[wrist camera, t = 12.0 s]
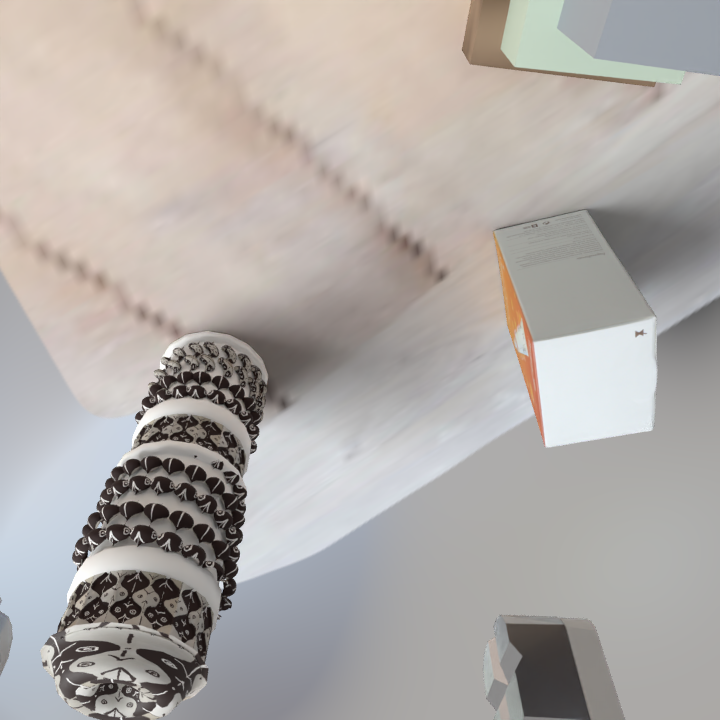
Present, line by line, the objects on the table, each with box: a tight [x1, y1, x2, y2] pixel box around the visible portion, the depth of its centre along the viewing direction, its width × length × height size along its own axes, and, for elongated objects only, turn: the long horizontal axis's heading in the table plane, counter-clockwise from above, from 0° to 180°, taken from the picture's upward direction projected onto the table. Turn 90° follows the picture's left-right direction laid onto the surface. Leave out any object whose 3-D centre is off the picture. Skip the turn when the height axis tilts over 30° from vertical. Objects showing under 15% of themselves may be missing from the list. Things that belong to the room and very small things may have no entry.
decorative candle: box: [41, 331, 268, 720], centre depth 41 cm, size 9×9×25 cm
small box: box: [493, 210, 657, 448], centre depth 40 cm, size 8×6×13 cm
